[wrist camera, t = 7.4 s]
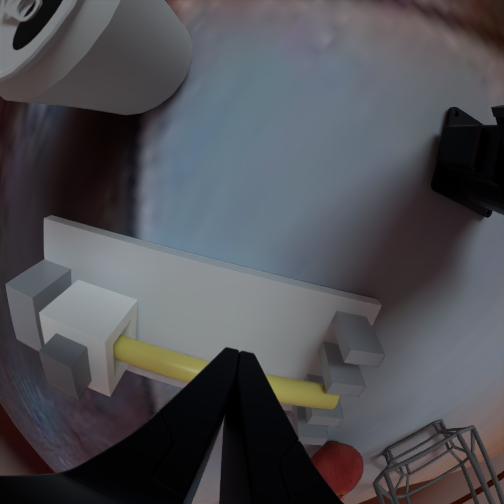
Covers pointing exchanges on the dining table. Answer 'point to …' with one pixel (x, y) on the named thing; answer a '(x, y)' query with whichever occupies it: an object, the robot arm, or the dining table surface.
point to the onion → (339, 466)
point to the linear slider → (211, 318)
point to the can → (92, 53)
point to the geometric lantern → (450, 435)
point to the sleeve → (85, 338)
